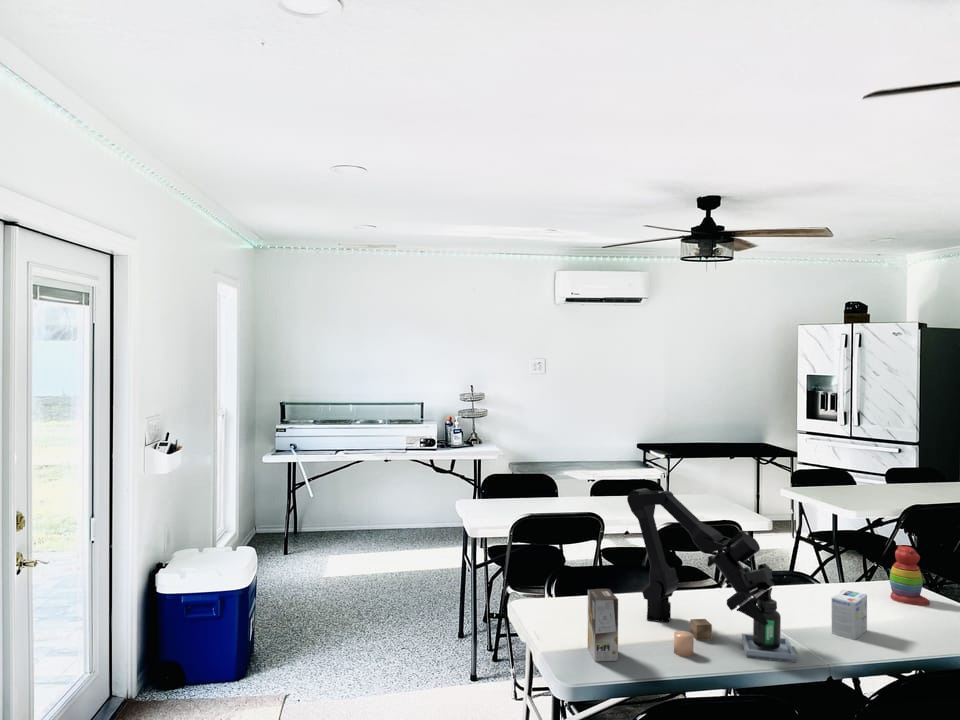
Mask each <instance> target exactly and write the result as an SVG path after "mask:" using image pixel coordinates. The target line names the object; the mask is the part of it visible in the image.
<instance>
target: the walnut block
mask: <svg viewBox="0 0 960 720" xmlns="http://www.w3.org/2000/svg"><path fill="white" fill-rule="evenodd" d="M689 624H690V630H689V632H690V633H692V634H693V636H694V640H695V641H712V635H713V634H712V631H713V630H712V628H713V626H712V623H710V622H709V620H708V619H706V618H694V619H693V618H690V623H689Z"/></svg>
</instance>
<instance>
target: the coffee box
mask: <svg viewBox="0 0 960 720" xmlns="http://www.w3.org/2000/svg"><path fill="white" fill-rule="evenodd" d="M587 649H588V651H589V654H590V655H591V656H592V658H593V660H594V661H595V662H616V661H618V660H619V599H618V598H617V596H616V595H615V594H614V593H613V592H612V590H611V589H610V588H595V589H593V588H592V589H587Z"/></svg>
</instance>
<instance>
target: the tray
mask: <svg viewBox="0 0 960 720" xmlns="http://www.w3.org/2000/svg"><path fill="white" fill-rule="evenodd" d="M741 642H742V646H743V650H744V653H745V657H746V658H751V659H752V658H753V659H761V660H769V659H771V661H778V660H781V661H780V662H787V661H789V662H790V663H796V653H795V651H794V649H793V647H792V645H791V643H790V640H789V638H787V637H782V636H780V647H779V648H778V649H774V650H769V649H763V648H760V647H758V646H756V645H755V644H754V642H753V633H752V634H749V633H741ZM789 662H788V663H789Z"/></svg>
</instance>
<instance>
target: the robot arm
mask: <svg viewBox="0 0 960 720" xmlns="http://www.w3.org/2000/svg"><path fill="white" fill-rule="evenodd" d="M626 500H627V504H628V506H629V508H630V511H631V512H632V514H633V515H634V517H635V518H636V519H637V520H638V524H639V528H640V531H641V534H642V540H643V543H644V546H645V550H646V554H647V558H648V560H649V566H650V567H649V573H648V574H649V575H648V580H649V585H648V586H647V587H646V588H645V589H643V590H642V596H643V599H644V600H646V603H647V604H646V605H647V607H646V608H647V613H646V620H647V621H654V622H662V623H669V622H670V619H671V616H672V615H671V614H672V613H671V610H672V609H671V608H672V607H671V605H672V603H671V602H670V600H669V599H670V598H671V597H672V596H673V594H674V592H675V591H676V590H677V589H678V585H679V583H678V582H679V581H680V580H679V578H678V576H677V570H676V567H670V566H669V564H668V563H667V559H666V558H665V557H666V556H665V553H664V550H663V545H662V542H661V539H660V536H659V532H658V527H657V524H656V521H655V511H656V506H658V505H660V506H661V507H662V508H663V509H664V510H666V511H667V513H669V514H670V516H671V517H672V518H674V519H675V520H676V522H678V523H679V524H680V525H681V526H682V527H683V528H684V529H685V530H686V531H687V532H688V533H689V535H690V537H691V540H692V542H693V544H695V545H696V547H697V548H698V550H699V551H700V552H701V553H703V554H708V555H709V554H713V553H716V552H717V553H716V554H715V555H710V556H708V557H707V559H708V560H707V567H709V568H710V567H712V566H714V565H715V566H716V567H717V568H718V570H719V571H720V573H721V574H722V575H723V576H724V578H725V579H726V580H725V581H724V583H725V584H726V585H731V587H732V589H733V590H734V591H735V593H733V595H731V596H730V597H729V598H727V599H726V606H727V607H728V609H729V610H730V611H731V612H732V611H734V610H736V612H740V613H743V614H744V615H745V616H748V617H749V618H752V620H753V619H754V620H756V621H758V622H759V623H761V624H763V625H764V626H765V625H767V624H768V622H767V621H766V619H765V617H764V616H763V614H762V613H761V611H760V609H759V608H758V606H757V604H758V599H759V598H769V599H772V596H771V595H772V591H773V586H774V585H775V583H774V582H773V581H772V579H773V578H774V577H773V575H772V572H773V569H772V568H770V566H769V565H767V564H766V563H765V562H764V563H761V564H758V565H757V568H756V569H754V570H751V569H750V568H749V567H747V566H746V567H743V565H742V564H741V563H746V561H748V560H749V559H750V558H752V557H753V556H754V555H756V554H757V553H758V552H760V550H761V547H760V544H759V542H758V541H757V540H756V539H755V538H753V536H751V535H750V534H747V533H746V532H745V530H740V531H738V532H737V533H736V534H735V536H734V537H732V538H730V537H727V536H724V535H723V534H722V533H721V532H720V531H719V530H717V529H715V528H714V527H712V526H711V525H708V524H706V523H704V522H702V521H701V520H700V519H699V518H697V516H696V515H694V513H693V512H691V511H690V510H689V508H687V507H686V506H685V505H684V504H683V503H682V502H681V501H680V500H679V499H677V497H676V496H675V495H674V493H673V492H671V491H670V490H664V491H663V490H651V489H649V488H646V487H645V488H639V489H636V490H635V489H633V490H632V491H630V492H629V493H628V495H627V497H626ZM724 549H726V550H725V551H722V550H724ZM740 562H741V563H740Z"/></svg>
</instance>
